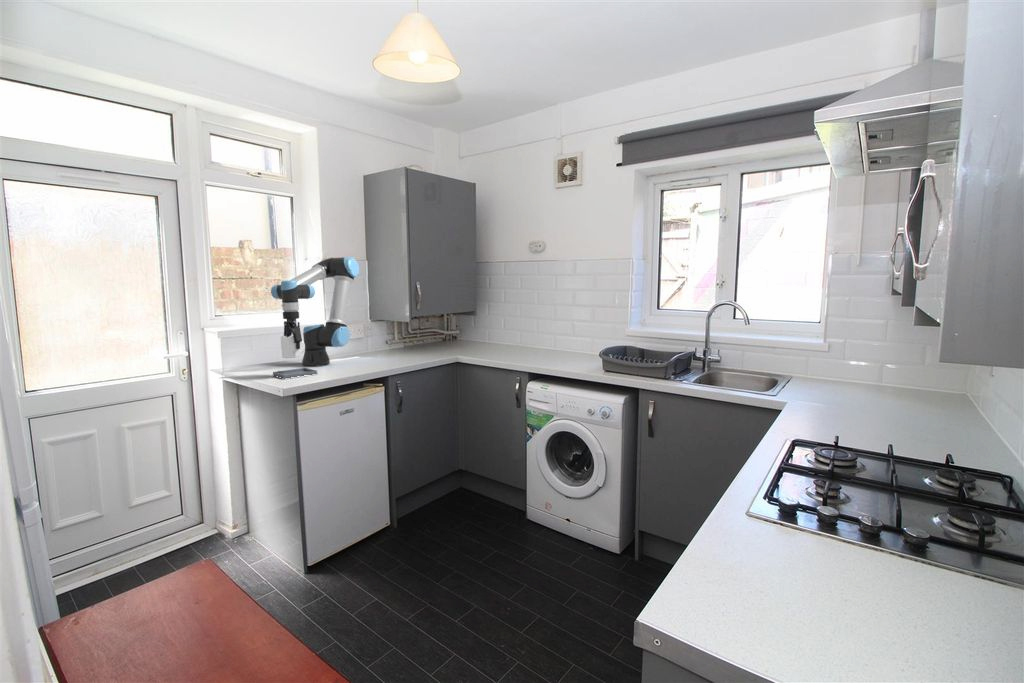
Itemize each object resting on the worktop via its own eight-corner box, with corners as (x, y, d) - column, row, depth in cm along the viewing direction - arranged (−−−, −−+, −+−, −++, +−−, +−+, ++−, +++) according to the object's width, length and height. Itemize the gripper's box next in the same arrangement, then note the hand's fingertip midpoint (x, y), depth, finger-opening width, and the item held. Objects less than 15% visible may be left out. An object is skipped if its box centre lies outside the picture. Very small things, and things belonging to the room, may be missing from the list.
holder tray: (305, 371, 258) (305, 367, 258) (317, 374, 248) (317, 370, 248) (273, 375, 246) (272, 372, 246) (284, 379, 236) (284, 375, 236)
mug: (300, 358, 241) (299, 337, 239) (278, 358, 242) (276, 337, 241) (310, 355, 249) (308, 335, 248) (288, 355, 251) (287, 335, 249)
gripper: (274, 310, 249) (277, 353, 251) (292, 311, 233) (295, 357, 236) (289, 310, 254) (292, 351, 256) (307, 311, 238) (310, 355, 241)
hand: (293, 354), depth 246 cm, fingers closed on mug, 10 cm apart
